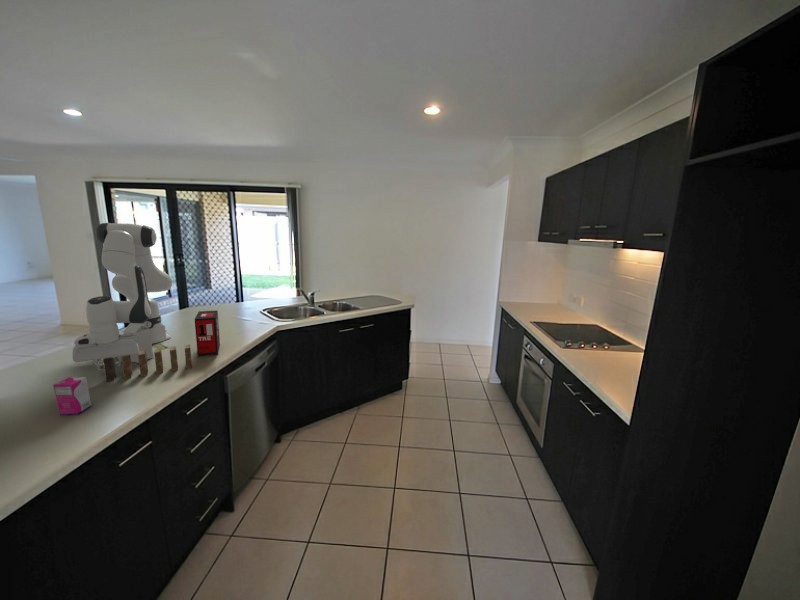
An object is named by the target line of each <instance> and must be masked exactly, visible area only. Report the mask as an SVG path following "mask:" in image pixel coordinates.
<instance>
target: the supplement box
mask: <svg viewBox="0 0 800 600" xmlns="http://www.w3.org/2000/svg"><path fill="white" fill-rule="evenodd" d="M52 386H53V390H54V394H55V398H56V403H57V408H58V412H59V415H60V416H79V415H80V414H81V413H84V411H86V410H88V409H90V408H92V407H93V406H92V402H91V397H90V391H89V387H88V386H89V385H88V382H87V377H86V376H81V377H80V376H79V377H73V376H71V377H67V378H65V379H63V380H61V381H59V382H57V383H55V384H53V385H52Z"/></svg>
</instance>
